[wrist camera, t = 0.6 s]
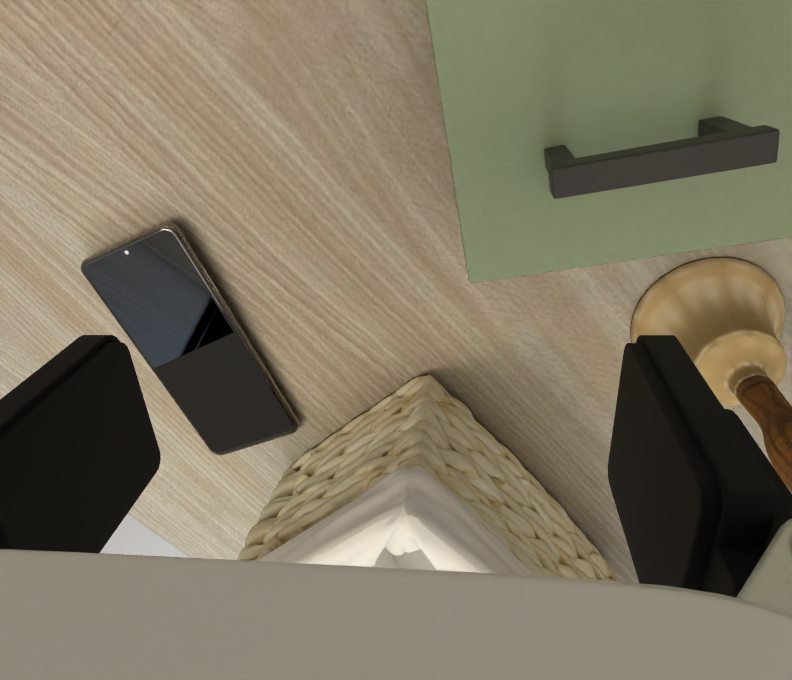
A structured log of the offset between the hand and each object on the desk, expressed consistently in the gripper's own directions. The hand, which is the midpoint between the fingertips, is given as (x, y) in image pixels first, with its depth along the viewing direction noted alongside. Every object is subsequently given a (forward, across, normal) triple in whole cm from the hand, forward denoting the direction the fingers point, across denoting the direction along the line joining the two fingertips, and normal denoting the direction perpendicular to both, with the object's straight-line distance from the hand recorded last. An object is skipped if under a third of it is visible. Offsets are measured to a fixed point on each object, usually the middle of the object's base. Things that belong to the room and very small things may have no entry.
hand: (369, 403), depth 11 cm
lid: (+15, -7, -5) cm, 17 cm away
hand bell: (+24, -16, +10) cm, 30 cm away
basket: (+24, 0, +25) cm, 35 cm away
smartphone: (+23, +16, +11) cm, 30 cm away
